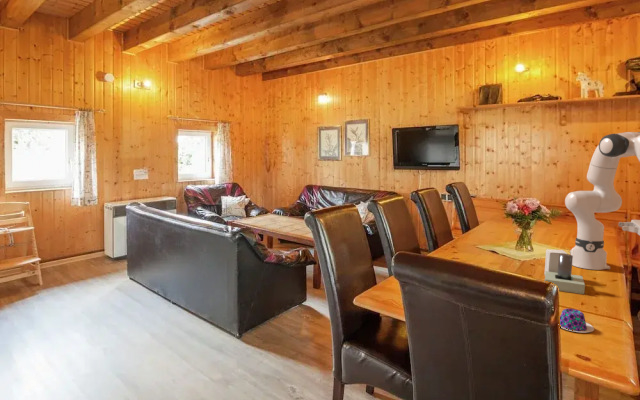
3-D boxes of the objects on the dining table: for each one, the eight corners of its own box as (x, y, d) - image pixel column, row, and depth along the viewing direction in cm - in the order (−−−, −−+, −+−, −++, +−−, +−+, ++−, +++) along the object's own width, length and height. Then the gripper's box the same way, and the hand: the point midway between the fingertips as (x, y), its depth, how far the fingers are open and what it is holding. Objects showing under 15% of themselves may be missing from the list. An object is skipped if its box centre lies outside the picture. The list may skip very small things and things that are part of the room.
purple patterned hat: (561, 333, 125) (562, 317, 124) (545, 318, 137) (546, 303, 136) (602, 335, 123) (603, 320, 123) (582, 320, 135) (583, 305, 134)
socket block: (544, 279, 179) (545, 271, 178) (581, 284, 172) (582, 275, 171) (544, 288, 166) (545, 279, 166) (584, 294, 160) (584, 284, 159)
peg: (556, 284, 172) (558, 253, 171) (569, 286, 170) (572, 254, 168) (556, 287, 168) (559, 255, 166) (570, 289, 166) (573, 257, 164)
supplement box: (566, 280, 177) (568, 253, 176) (547, 279, 179) (549, 252, 178) (561, 276, 184) (563, 249, 183) (543, 274, 186) (545, 248, 185)
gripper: (659, 217, 162) (617, 215, 169) (672, 226, 144) (625, 222, 151) (657, 232, 162) (616, 229, 169) (670, 242, 145) (623, 238, 152)
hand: (620, 226), depth 160 cm, fingers open, 8 cm apart
